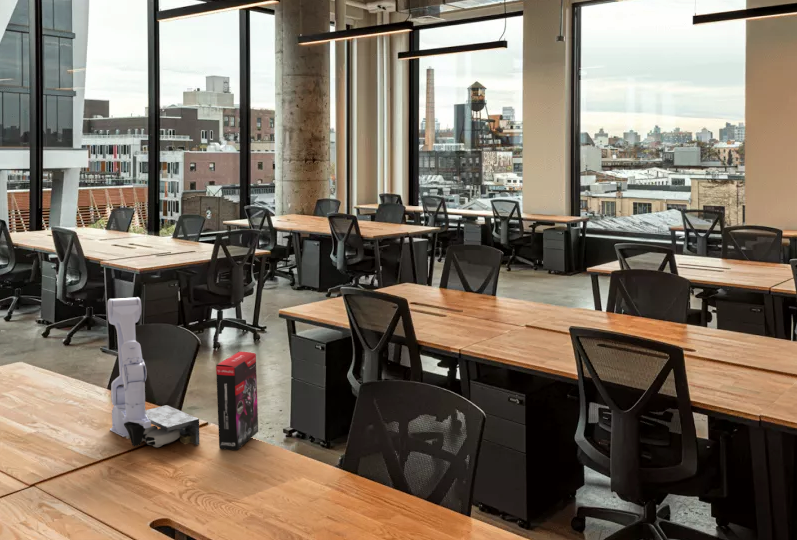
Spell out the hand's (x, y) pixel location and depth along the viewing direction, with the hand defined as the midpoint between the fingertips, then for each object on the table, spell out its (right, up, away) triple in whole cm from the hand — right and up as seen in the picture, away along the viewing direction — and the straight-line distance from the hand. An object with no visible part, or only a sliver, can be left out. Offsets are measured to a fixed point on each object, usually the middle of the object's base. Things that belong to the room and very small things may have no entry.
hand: (136, 445), depth 230 cm
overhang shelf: (+7, -1, +8) cm, 11 cm away
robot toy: (+4, -1, +6) cm, 8 cm away
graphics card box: (+29, -1, +9) cm, 31 cm away
